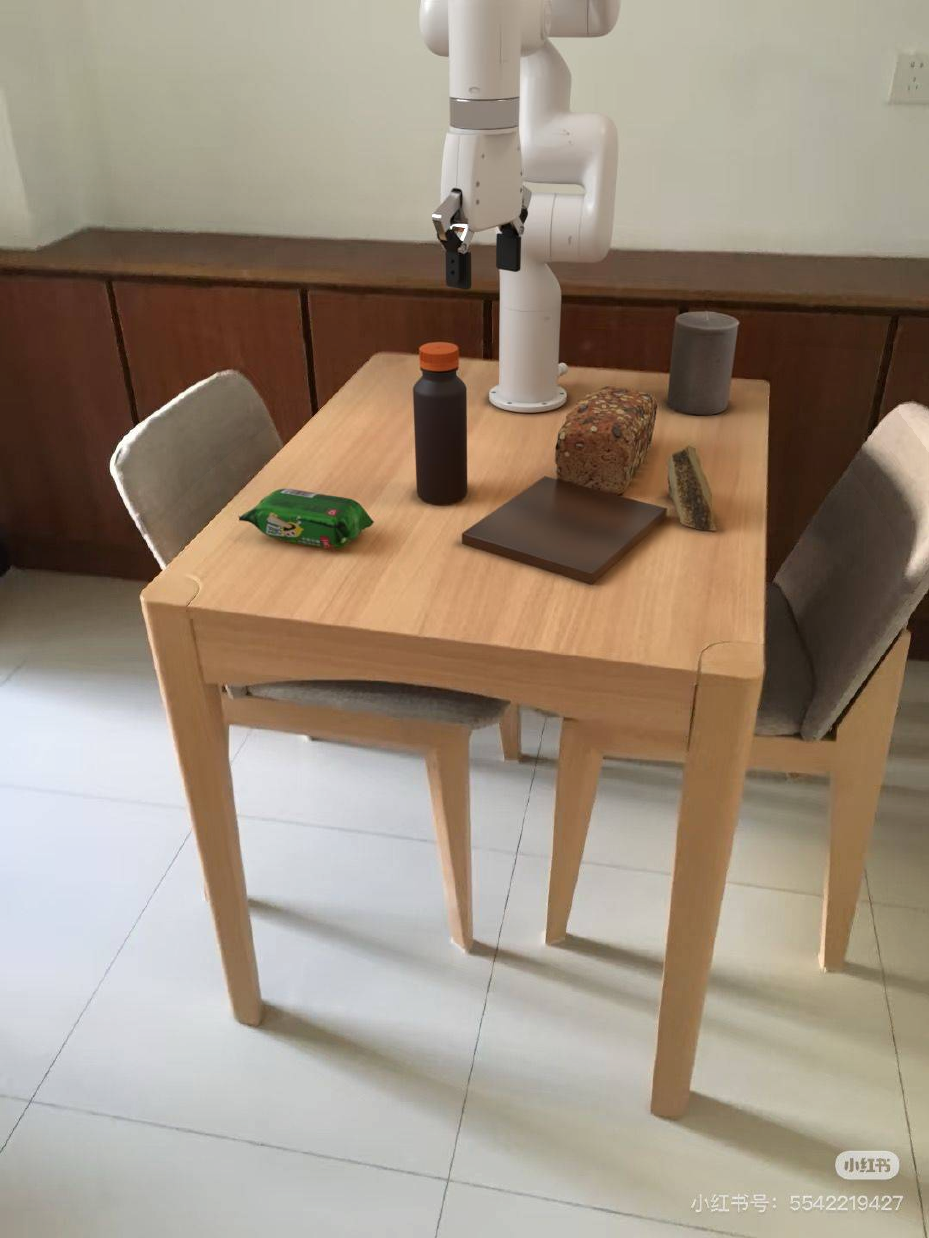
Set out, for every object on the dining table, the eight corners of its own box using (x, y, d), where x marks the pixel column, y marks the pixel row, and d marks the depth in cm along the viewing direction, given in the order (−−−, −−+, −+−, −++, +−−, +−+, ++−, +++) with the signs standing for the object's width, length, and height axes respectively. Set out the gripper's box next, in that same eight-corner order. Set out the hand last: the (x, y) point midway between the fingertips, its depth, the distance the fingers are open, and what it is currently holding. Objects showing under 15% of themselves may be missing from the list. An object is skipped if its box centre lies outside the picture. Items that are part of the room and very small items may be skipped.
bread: (626, 499, 135) (632, 428, 130) (549, 488, 139) (552, 418, 133) (655, 447, 150) (662, 381, 145) (585, 438, 153) (589, 373, 148)
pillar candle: (664, 413, 162) (674, 318, 154) (668, 392, 170) (677, 301, 162) (727, 418, 160) (740, 322, 152) (728, 396, 168) (740, 304, 160)
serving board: (544, 485, 139) (544, 475, 138) (666, 518, 131) (667, 508, 130) (461, 543, 125) (461, 533, 125) (591, 585, 117) (592, 573, 116)
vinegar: (466, 483, 140) (465, 339, 129) (468, 505, 134) (467, 356, 124) (417, 484, 140) (411, 340, 129) (416, 506, 134) (410, 357, 123)
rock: (652, 471, 137) (632, 491, 129) (697, 426, 133) (680, 444, 124) (708, 528, 137) (692, 552, 129) (756, 486, 133) (743, 507, 124)
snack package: (266, 515, 132) (261, 478, 130) (377, 533, 128) (374, 495, 125) (238, 540, 127) (232, 502, 124) (353, 559, 122) (349, 520, 119)
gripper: (502, 106, 118) (500, 259, 127) (406, 122, 106) (411, 289, 115) (557, 110, 114) (551, 268, 123) (463, 127, 102) (464, 300, 111)
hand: (484, 278), depth 119 cm, fingers open, 9 cm apart
